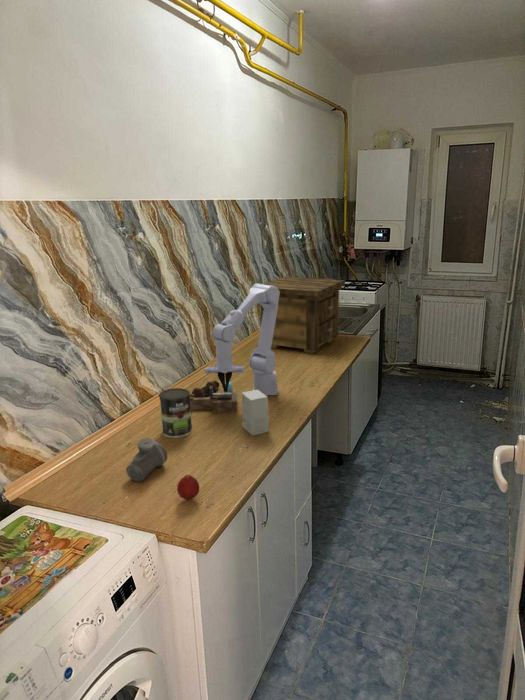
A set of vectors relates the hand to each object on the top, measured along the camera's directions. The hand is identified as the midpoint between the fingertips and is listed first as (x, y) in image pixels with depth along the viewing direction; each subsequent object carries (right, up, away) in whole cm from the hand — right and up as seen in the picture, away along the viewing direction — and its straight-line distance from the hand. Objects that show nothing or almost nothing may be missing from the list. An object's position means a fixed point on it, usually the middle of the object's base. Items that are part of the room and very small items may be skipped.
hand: (225, 390), depth 194 cm
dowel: (0, -4, +12) cm, 12 cm away
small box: (+12, -12, -17) cm, 24 cm away
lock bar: (-2, -3, +1) cm, 3 cm away
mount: (-5, -7, +2) cm, 8 cm away
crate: (+34, +18, +81) cm, 90 cm away
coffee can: (-15, -13, -17) cm, 26 cm away
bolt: (-8, -3, +15) cm, 18 cm away
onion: (-6, -25, -56) cm, 62 cm away
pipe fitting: (-20, -21, -42) cm, 52 cm away
